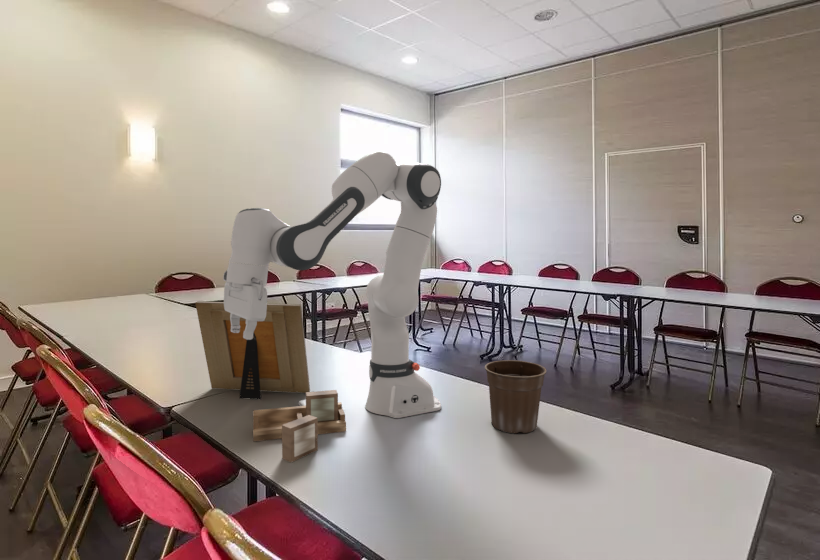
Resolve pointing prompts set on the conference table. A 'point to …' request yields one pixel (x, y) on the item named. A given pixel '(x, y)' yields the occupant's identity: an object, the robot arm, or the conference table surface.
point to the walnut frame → (299, 438)
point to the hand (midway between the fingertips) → (241, 335)
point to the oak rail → (271, 421)
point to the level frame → (322, 405)
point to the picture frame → (255, 350)
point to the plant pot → (514, 394)
